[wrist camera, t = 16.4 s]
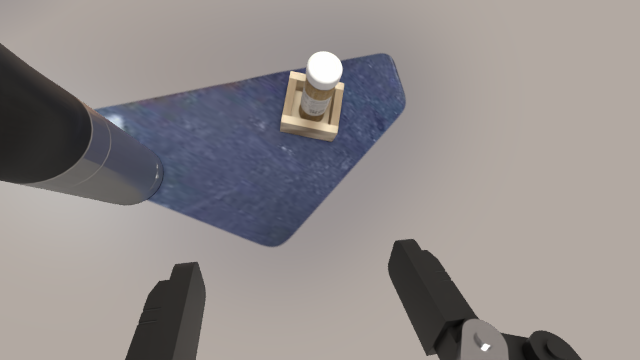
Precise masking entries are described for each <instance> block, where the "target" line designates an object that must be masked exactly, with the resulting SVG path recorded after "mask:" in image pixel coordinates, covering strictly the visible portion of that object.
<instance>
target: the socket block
mask: <svg viewBox="0 0 640 360" xmlns="http://www.w3.org/2000/svg"><path fill="white" fill-rule="evenodd" d="M305 80H306V74H302V73H297V72H293V71H291V73H290V78H289V83H288V88H287V93H286V99H285V104H284V109H283V114H282V119H281V128H280V131H281V132H286V133H291V134H296V135H301V136H306V137H310V138H315V139H320V140H325V141H330V142H332V141H333V139H334V138H335V136H336V135H337V131H338V124H339V117H340V110H341V103H342V96H343V89H344V83H340V82H338V84H337V85H336V86H335V89H334V91H333V94H332V96H331V99H330V102H329V104H328V106H327V108H326V111H325V113H324V117H323V119H322V120H321V121H320V122H315V121H311V120H306V119H301V117H300V115H299V106H300V104H301V97H302V93H303V88H304V83H305Z"/></svg>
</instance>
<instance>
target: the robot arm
mask: <svg viewBox="0 0 640 360" xmlns="http://www.w3.org/2000/svg"><path fill="white" fill-rule="evenodd" d="M162 178H163V167H162V164H161V161H160V159H159V158H158V156H157V155H156V154H155V153H154V152H152V151H151V150H150V149H148V148H147V147H145V146H144V145H143V144H141V143H140V142H139V141H137V140H136V139H134V138H133V137H131V136H130V135H129V134H127V133H126V132H124V131H123V130H122V129H120V128H119V127H117V126H116V125H115V124H113V123H112V122H110V121H109V120H107V119H106V118H105V117H103V116H102V115H100V114H99V113H98V112H96V111H95V110H93V109H92V108H90V107H89V106H87V105H86V104H85V103H83V102H82V101H80V100H79V99H77V98H76V97H75V96H73V95H72V94H70V93H69V92H67V91H66V90H64V89H63V88H61V87H60V86H58V85H57V84H55V83H54V82H52V81H51V80H49V79H48V78H46V77H45V76H43V75H42V74H41V73H39V72H38V71H36V70H35V69H33V68H32V67H30V66H29V65H28V64H27V63H25V62H24V61H23V60H21V59H20V58H19V57H17V56H16V55H15V54H13V53H12V52H11V51H10V50H8V49H7V48H6V47H4V46H3V45H2V44H1V43H0V180H1V181H5V182H11V183H15V184H20V185H26V186H30V187H35V188H41V189H46V190H51V191H55V192H60V193H65V194H70V195H75V196H80V197H85V198H90V199H94V200H99V201H103V202H108V203H113V204H119V205H133V204H137V203H140V202H143V201H145V200H147V199H148V198H150V197H151V196H152V195H153V194H154V193H155V192H156V191H157V189H158V188H159V186H160V184H161V182H162ZM388 271H389V275H390V278H391V280H392V283H393V285H394V287H395V289H396V291H397V293H398V295H399V298H400V300H401V301H402V303H403V306H404V308H405V310H406V312H407V314H408V317H409V319H410V321H411V323H412V325H413V327H414V330H415V331H416V334H417V336H418V338H419V340H420V342H421V344H422V347H423V349H424V351H425V353H426V355H427V356H428V355H433V354H437V355H438V357H439V359H440V360H581V358H580V357H579V356H578V354H577V353H576V352H575V351H574V350H573V349H572V347H570V345H569V344H567V343H566V342H565V341H564V340H563V339H561V338H560V337H558V336H556V335H554V334H552V333H550V332H547V331H535V332H534V333H533V334H532V335H531V336H530V337H529V338H526V337H520V336H514V335H509V334H504V333H500V332H499V331H498V330H497V329H496V328H495V327H493V326H492V325H491V324H489V323H487V322H485V321H483V320H480V319H479V318H478V317H477V316H476V315H475V314H474V312H473V310H472V309H471V308H470V306H469V305H468V303H467V302H466V300H465V299H464V298H463V296H462V294H461V293H460V291H459V290H458V288H457V287H456V285H455V284H454V282H453V281H451V278H450V277H449V275H448V274H447V272H445V269H444V268H443V266H442V265H441V263H440V262H439V260H438V259H437V258H436V257H434V256H433V255H432V254H431V253H430V252H428V251H427V250H421V248H420V247H419V245H418V244H417V242H416V241H415V240H414V239H407V240H398V241H395V243H394V245H393V249H392V252H391V256H390V259H389V263H388ZM205 298H206V292H205V285H204V281H203V278H202V274H201V271H200V268H199V264H198V262H191V263H182V264H175V266H174V267H173V270H172V273H171V277H170V280H164V281H159V282H158V283H157V285H156V286H155V287H154V289H153V290H152V291H151V292H150V293H149V295H148V298H147V300H146V303H145V306H144V309H143V313H142V314H141V317H140V320H139V325H138V326H137V328H136V331H135V334H134V336H133V339H132V342H131V345H130V347H129V350H128V353H127V356H126V359H125V360H196V354H197V348H198V342H199V336H200V330H201V324H202V318H203V312H204V306H205Z"/></svg>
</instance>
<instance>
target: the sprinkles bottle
mask: <svg viewBox="0 0 640 360" xmlns="http://www.w3.org/2000/svg"><path fill="white" fill-rule="evenodd" d="M341 75H342V64H341V62H340V60H339V59H338V58H337V57H336V56H335V55H333V54H332V53H329V52H317V53H315V54H313V55H312V56H311V57H310V59H309V61H308V63H307V68H306V80H305V83H304V88H303V93H302V97H301V104H300V106H299V115H300V117H301V119H306V120H311V121H315V122H320V121H321V120H322V119H323V117H324V113H325V111H326V108H327V106H328V104H329V102H330V99H331V96H332V94H333V91H334V89H335V86H336V85H337V84H338V82H339V80H340V78H341Z"/></svg>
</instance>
